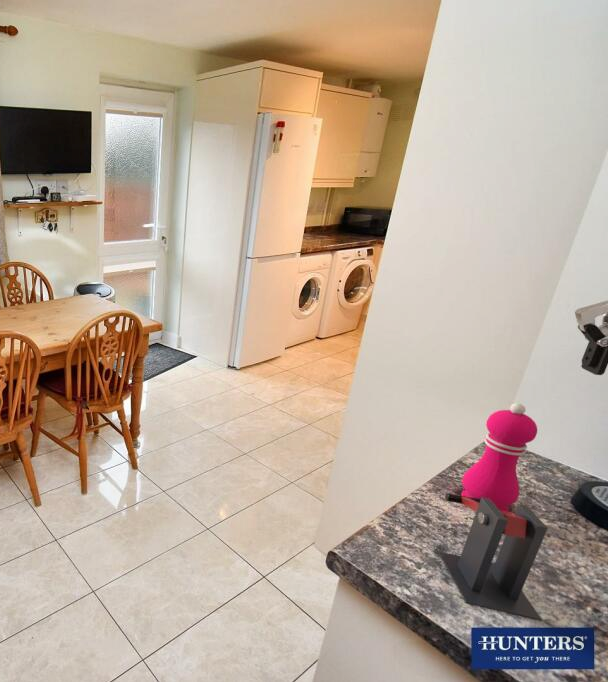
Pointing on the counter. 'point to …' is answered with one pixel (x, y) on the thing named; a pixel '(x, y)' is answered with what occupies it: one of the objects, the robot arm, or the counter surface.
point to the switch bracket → (510, 567)
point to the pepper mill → (501, 458)
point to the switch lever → (514, 523)
